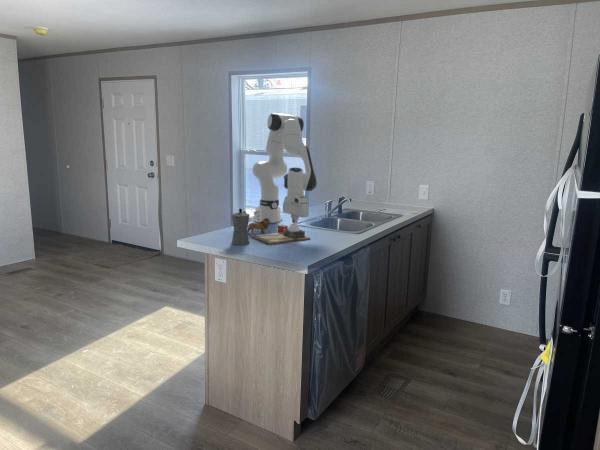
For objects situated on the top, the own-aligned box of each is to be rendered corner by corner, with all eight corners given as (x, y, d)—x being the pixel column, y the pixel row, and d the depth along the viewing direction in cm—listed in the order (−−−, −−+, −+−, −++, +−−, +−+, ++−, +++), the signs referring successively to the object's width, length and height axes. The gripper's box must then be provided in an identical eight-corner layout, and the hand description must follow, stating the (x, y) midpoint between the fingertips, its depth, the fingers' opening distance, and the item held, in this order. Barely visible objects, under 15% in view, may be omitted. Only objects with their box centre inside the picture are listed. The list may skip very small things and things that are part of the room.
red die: (277, 232, 255) (277, 225, 254) (282, 231, 258) (282, 224, 257) (283, 233, 252) (283, 226, 251) (287, 232, 256) (287, 225, 255)
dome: (285, 232, 244) (286, 223, 243) (295, 231, 248) (295, 221, 247) (292, 235, 239) (292, 225, 238) (302, 233, 243) (302, 224, 242)
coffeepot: (245, 246, 221) (245, 211, 217) (227, 245, 222) (227, 210, 219) (253, 239, 236) (253, 206, 232) (236, 238, 237) (236, 205, 234)
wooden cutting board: (251, 237, 241) (251, 230, 240) (290, 232, 255) (290, 225, 254) (269, 245, 225) (269, 237, 225) (310, 239, 240) (310, 232, 239)
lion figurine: (267, 232, 255) (268, 217, 253) (271, 234, 250) (271, 218, 248) (243, 234, 248) (243, 218, 247) (246, 236, 244) (247, 220, 242)
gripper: (280, 196, 246) (279, 220, 249) (301, 200, 230) (300, 226, 233) (289, 195, 250) (289, 219, 252) (311, 199, 233) (310, 225, 236)
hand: (294, 223), depth 242 cm, fingers closed
